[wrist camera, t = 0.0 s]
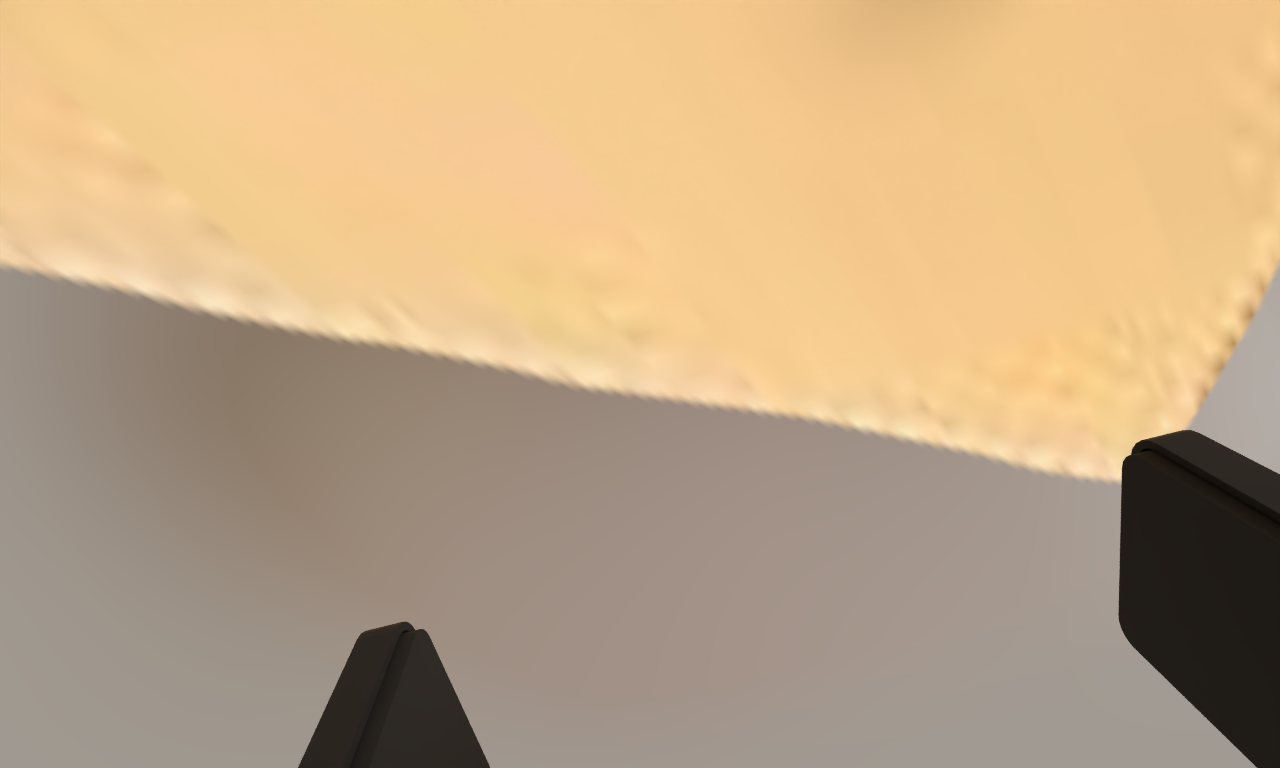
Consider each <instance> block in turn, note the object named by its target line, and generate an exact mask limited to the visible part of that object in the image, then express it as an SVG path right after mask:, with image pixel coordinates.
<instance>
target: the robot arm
mask: <svg viewBox="0 0 1280 768" xmlns="http://www.w3.org/2000/svg"><path fill="white" fill-rule="evenodd" d="M1121 495H1122V496H1121V536H1120V537H1121V538H1120V580H1119V622H1120V625H1121V628H1122V631H1123V633H1124V635H1125V636H1126V638H1127V639H1128V641H1129V642H1130V644H1131V645H1132V646H1133V647H1134V648H1135V649H1136V650H1137V651H1138V652H1139V653H1140V654H1141V655H1142V656H1143V657H1144V658H1145V659H1146V660H1147V661H1148V662H1149V663H1150V664H1151V665H1152V666H1153V667H1154V668H1155V669H1157V671H1158V672H1160V673H1161V674H1162V675H1163V676H1164V677H1165V678H1166V679H1167V680H1168V681H1169V682H1170V683H1171V684H1172V685H1173V686H1174V687H1175V688H1176V689H1177V690H1178V691H1179V692H1180V693H1181V694H1182V695H1183V696H1185V698H1186V699H1187V700H1188V701H1189V702H1190V703H1191V704H1193V705H1194V707H1195V708H1197V710H1199V711H1200V712H1201V713H1202V714H1203V715H1204V716H1205V717H1206V718H1207V719H1208V720H1209V721H1210V722H1211V723H1212V724H1213V725H1214V726H1215V727H1216V728H1217V729H1218V730H1219V731H1220V732H1221V733H1222V734H1223V735H1224V736H1225V737H1226V738H1227V739H1228V740H1229V741H1230V742H1231V743H1232V744H1233V745H1234V746H1236V747H1237V748H1238V749H1239V750H1240V751H1241V752H1242V753H1243V754H1244V755H1245V756H1246V757H1247V758H1248V759H1249V760H1250V761H1251V762H1252V763H1253V764H1254V765H1255V766H1256V767H1257V768H1280V474H1278V473H1276V472H1274V471H1272V470H1270V469H1268V468H1266V467H1264V466H1262V465H1260V464H1258V463H1256V462H1254V461H1252V460H1250V459H1249V458H1247V457H1245V456H1243V455H1241V454H1239V453H1237V452H1235V451H1233V450H1231V449H1229V448H1227V447H1225V446H1223V445H1221V444H1219V443H1217V442H1215V441H1214V440H1212V439H1210V438H1208V437H1206V436H1204V435H1202V434H1200V433H1197V432H1195V431H1192V430H1182V431H1178V432H1174V433H1170V434H1166V435H1162V436H1158V437H1153V438H1149V439H1145V440H1141V441H1140V442H1138V443H1136V444H1135V446H1134V447H1133V449H1132V453H1131V455H1129V456H1128V457H1126V458H1125V460H1124V461H1123V465H1122V494H1121ZM298 768H490V766H489V764H488V762H487V760H486V757H485V755H484V753H483V751H482V749H481V747H480V744H479V742H478V740H477V738H476V736H475V734H474V732H473V729H472V727H471V725H470V723H469V721H468V718H467V716H466V714H465V712H464V710H463V708H462V706H461V703H460V701H459V699H458V697H457V695H456V693H455V690H454V688H453V686H452V684H451V682H450V680H449V678H448V676H447V673H446V671H445V669H444V667H443V665H442V662H441V660H440V658H439V656H438V654H437V652H436V649H435V647H434V645H433V643H432V641H431V639H430V637H429V635H428V633H427V632H426V631H425V630H424V629H419V630H415V629H414V628H413V626H412V625H411V624H410V623H408V622H400V623H397V624H392V625H388V626H384V627H380V628H376V629H372V630H368V631H365V632H363V633H361V635H360V636H359V638H358V639H357V641H356V643H355V645H354V648H353V649H352V652H351V654H350V656H349V658H348V660H347V662H346V665H345V667H344V669H343V671H342V673H341V675H340V678H339V680H338V682H337V684H336V687H335V689H334V691H333V693H332V695H331V697H330V699H329V702H328V704H327V706H326V709H325V710H324V712H323V715H322V717H321V719H320V721H319V724H318V726H317V728H316V730H315V732H314V735H313V736H312V739H311V741H310V743H309V745H308V747H307V750H306V752H305V754H304V756H303V758H302V760H301V763H300V765H299V767H298Z"/></svg>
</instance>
